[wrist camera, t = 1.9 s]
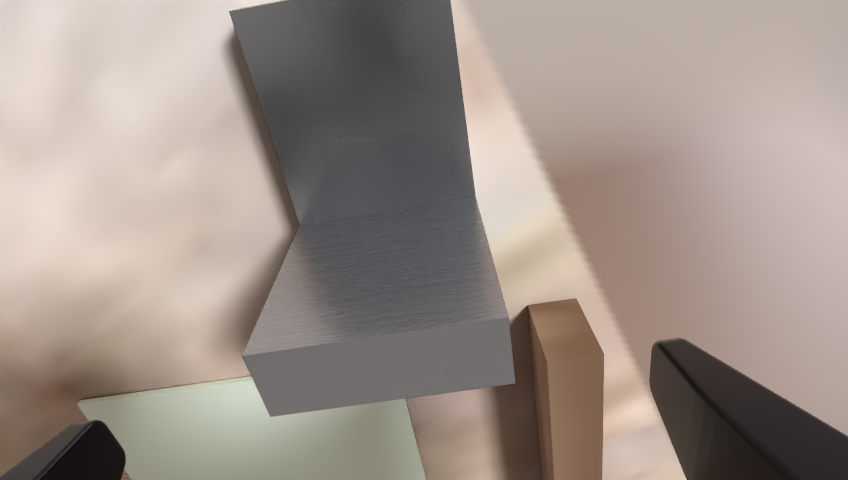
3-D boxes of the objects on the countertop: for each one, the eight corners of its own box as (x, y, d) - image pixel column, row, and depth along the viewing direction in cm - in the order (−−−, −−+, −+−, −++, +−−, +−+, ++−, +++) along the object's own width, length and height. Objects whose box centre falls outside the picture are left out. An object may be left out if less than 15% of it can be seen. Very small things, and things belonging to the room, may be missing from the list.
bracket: (476, 227, 14) (515, 383, 9) (323, 251, 14) (269, 416, 9) (443, -31, 11) (471, -30, 6) (246, 7, 11) (95, 41, 6)
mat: (175, 532, 21) (173, 537, 20) (80, 400, 17) (76, 404, 17) (432, 501, 20) (432, 506, 20) (393, 355, 16) (393, 359, 16)
